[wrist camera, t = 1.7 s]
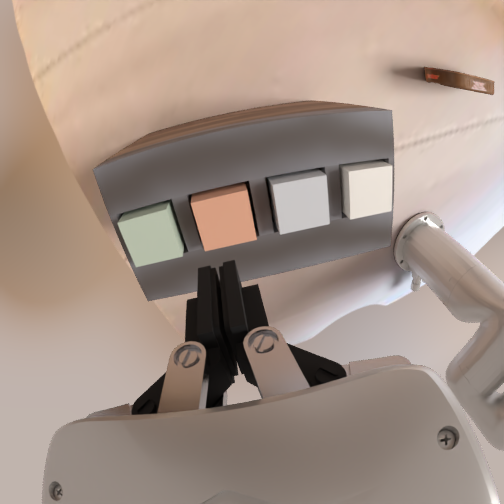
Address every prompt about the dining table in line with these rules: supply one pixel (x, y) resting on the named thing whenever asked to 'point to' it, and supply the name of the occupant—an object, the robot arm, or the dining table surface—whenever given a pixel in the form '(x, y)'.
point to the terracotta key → (223, 216)
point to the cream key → (365, 188)
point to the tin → (459, 80)
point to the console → (250, 185)
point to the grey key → (299, 200)
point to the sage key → (152, 233)
